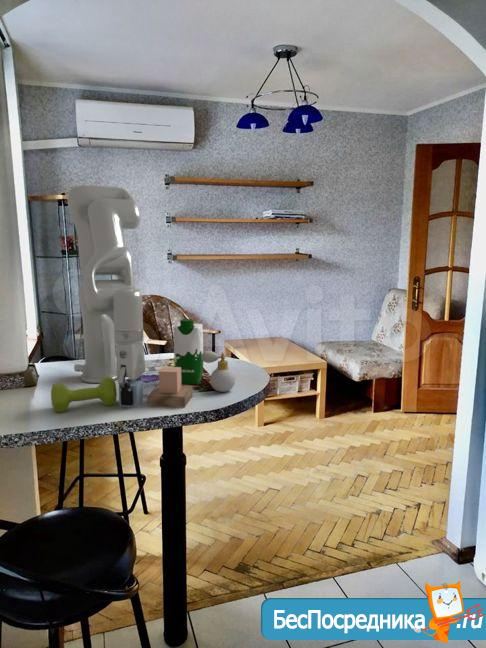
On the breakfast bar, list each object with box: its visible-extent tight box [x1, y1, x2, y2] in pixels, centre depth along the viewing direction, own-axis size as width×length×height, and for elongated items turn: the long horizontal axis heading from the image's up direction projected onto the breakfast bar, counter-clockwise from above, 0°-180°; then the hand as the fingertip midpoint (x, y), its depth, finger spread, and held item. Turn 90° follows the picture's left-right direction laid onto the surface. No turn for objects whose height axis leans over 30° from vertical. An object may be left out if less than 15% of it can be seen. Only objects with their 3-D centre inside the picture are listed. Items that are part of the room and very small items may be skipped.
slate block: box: [118, 380, 144, 408], centre depth 129 cm, size 5×5×6 cm
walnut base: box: [147, 383, 193, 408], centre depth 132 cm, size 10×10×3 cm
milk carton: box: [173, 318, 204, 385], centre depth 149 cm, size 9×9×20 cm
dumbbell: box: [50, 377, 118, 414], centre depth 127 cm, size 16×8×7 cm, turn 115°
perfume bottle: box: [201, 350, 236, 393], centre depth 140 cm, size 8×10×12 cm
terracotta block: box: [158, 366, 182, 393], centre depth 131 cm, size 5×5×6 cm
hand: (131, 400), depth 129 cm, fingers open, 5 cm apart
